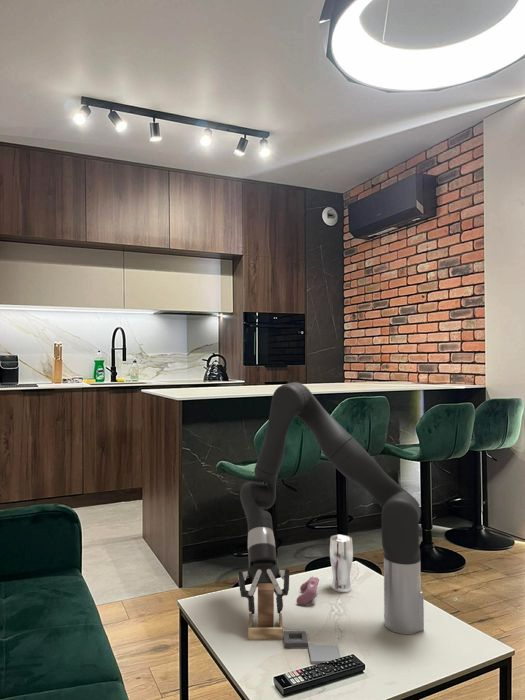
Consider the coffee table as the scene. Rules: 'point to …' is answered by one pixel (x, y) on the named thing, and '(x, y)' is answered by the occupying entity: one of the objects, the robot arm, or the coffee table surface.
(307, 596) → the video game controller
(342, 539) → the beer glass
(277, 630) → the wooden u-shaped bracket
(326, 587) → the coffee table surface
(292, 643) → the grey square frame
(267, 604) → the walnut block
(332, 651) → the grey pad
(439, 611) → the coffee table surface
